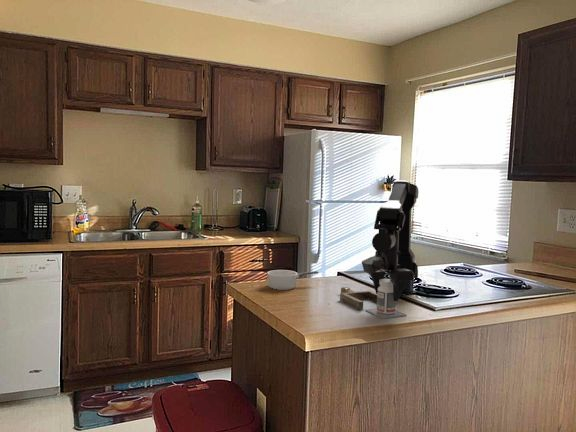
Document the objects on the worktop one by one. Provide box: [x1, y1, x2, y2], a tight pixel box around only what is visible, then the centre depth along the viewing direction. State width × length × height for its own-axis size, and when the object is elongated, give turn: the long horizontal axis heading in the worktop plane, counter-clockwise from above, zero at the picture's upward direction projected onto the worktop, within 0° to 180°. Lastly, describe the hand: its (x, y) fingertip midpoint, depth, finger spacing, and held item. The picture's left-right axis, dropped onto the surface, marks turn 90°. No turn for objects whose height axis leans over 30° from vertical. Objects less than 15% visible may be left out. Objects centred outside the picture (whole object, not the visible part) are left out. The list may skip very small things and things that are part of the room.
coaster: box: [365, 307, 408, 320], centre depth 149 cm, size 9×9×1 cm
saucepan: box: [266, 269, 319, 291], centre depth 181 cm, size 12×20×6 cm, turn 109°
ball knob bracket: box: [339, 286, 377, 310], centre depth 164 cm, size 12×20×2 cm, turn 24°
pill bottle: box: [376, 278, 397, 314], centre depth 149 cm, size 6×6×10 cm
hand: (386, 297), depth 149 cm, fingers open, 9 cm apart
